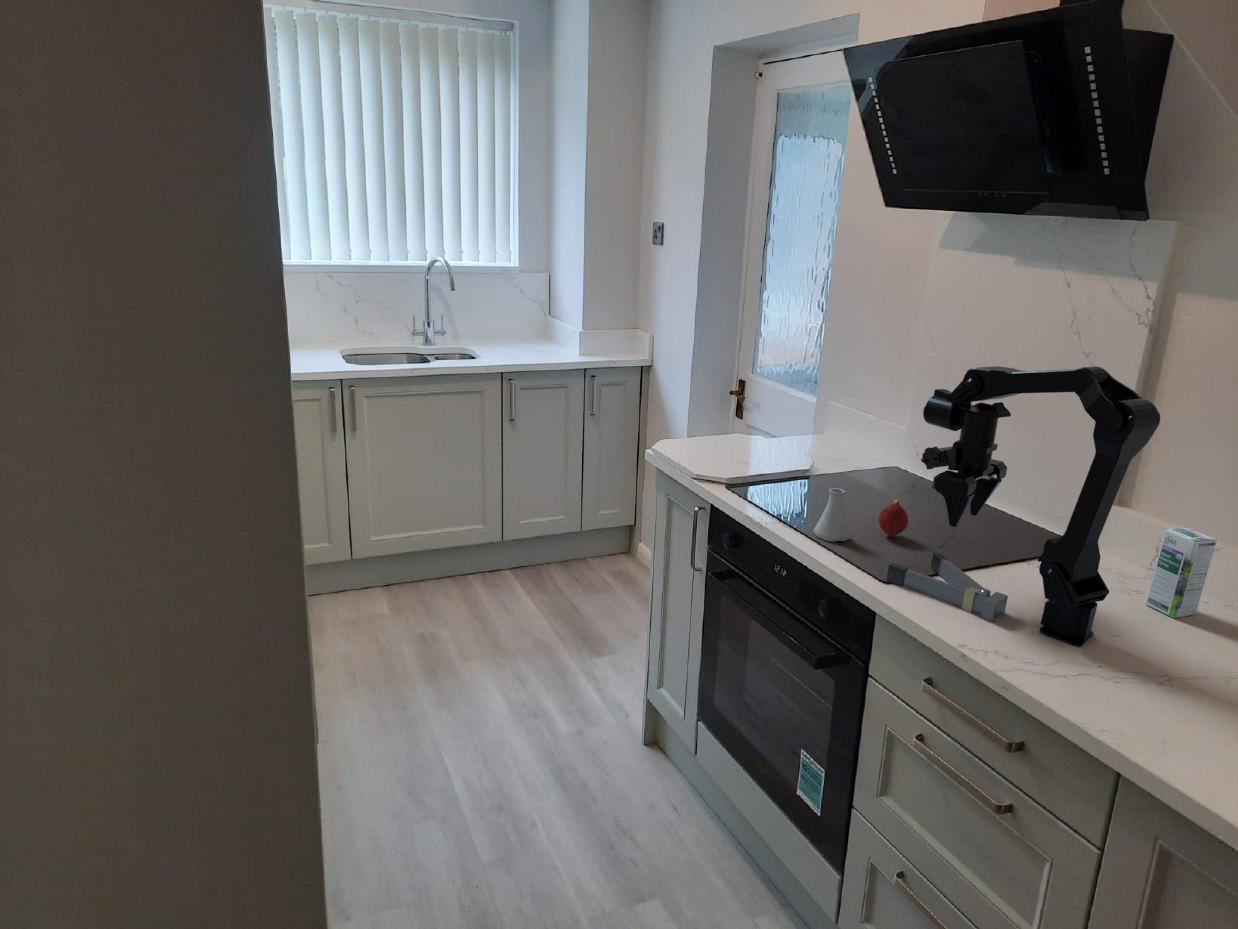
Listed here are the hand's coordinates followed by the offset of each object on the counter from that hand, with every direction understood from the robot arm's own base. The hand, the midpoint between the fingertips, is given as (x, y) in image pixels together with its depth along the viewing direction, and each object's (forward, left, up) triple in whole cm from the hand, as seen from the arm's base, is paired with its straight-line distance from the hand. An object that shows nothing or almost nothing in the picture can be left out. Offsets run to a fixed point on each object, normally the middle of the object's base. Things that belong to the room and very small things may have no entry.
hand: (963, 520), depth 154 cm
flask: (+26, 0, -12) cm, 28 cm away
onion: (+18, -10, -12) cm, 24 cm away
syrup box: (-31, -19, -12) cm, 38 cm away
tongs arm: (-3, +4, -11) cm, 12 cm away
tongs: (-2, +9, -12) cm, 15 cm away
